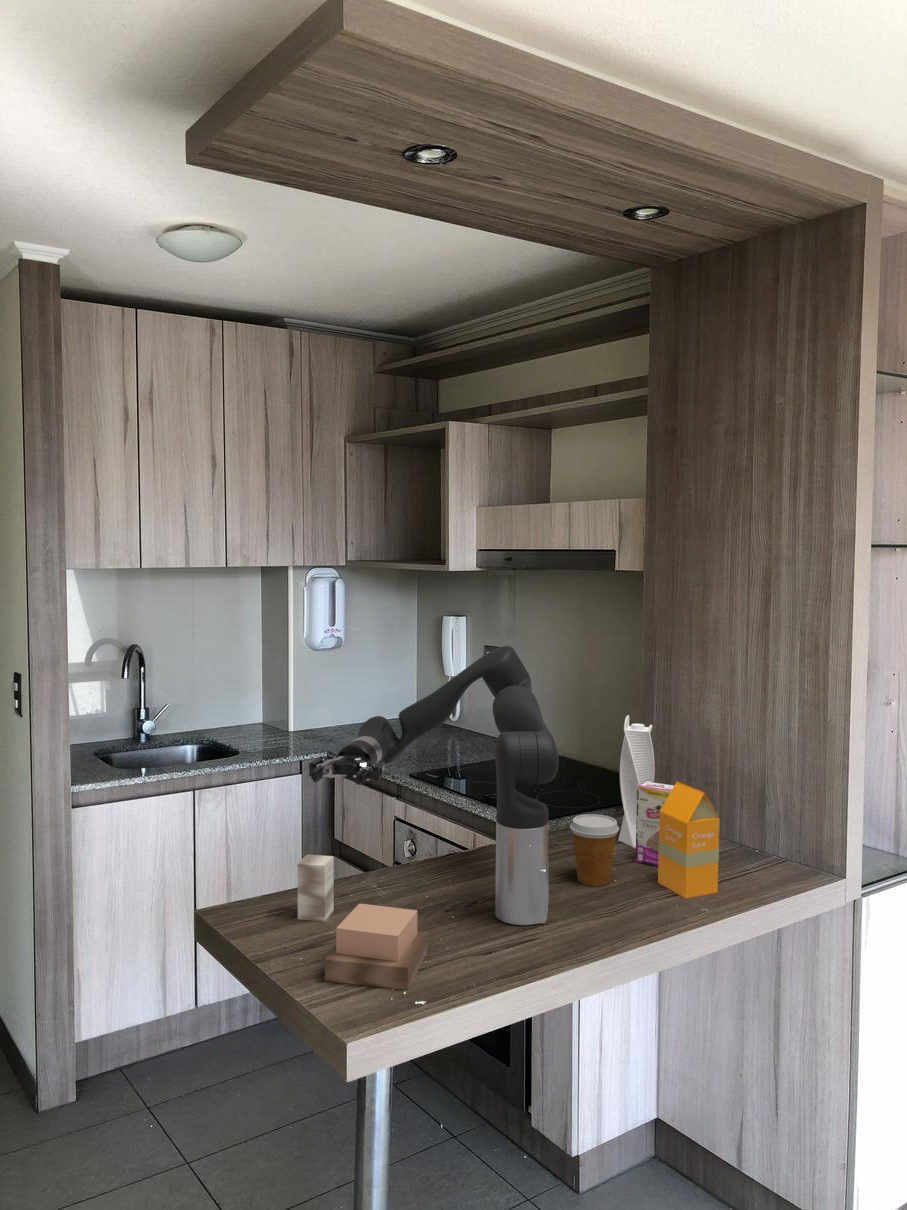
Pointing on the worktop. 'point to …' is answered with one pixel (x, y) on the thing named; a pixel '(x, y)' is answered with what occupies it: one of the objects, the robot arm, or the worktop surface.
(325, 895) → the cream block
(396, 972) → the tower base block
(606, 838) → the disposable coffee cup
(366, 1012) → the worktop surface
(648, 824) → the candy bar box
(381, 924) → the tower top block
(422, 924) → the worktop surface
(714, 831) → the orange juice
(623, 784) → the skyscraper
